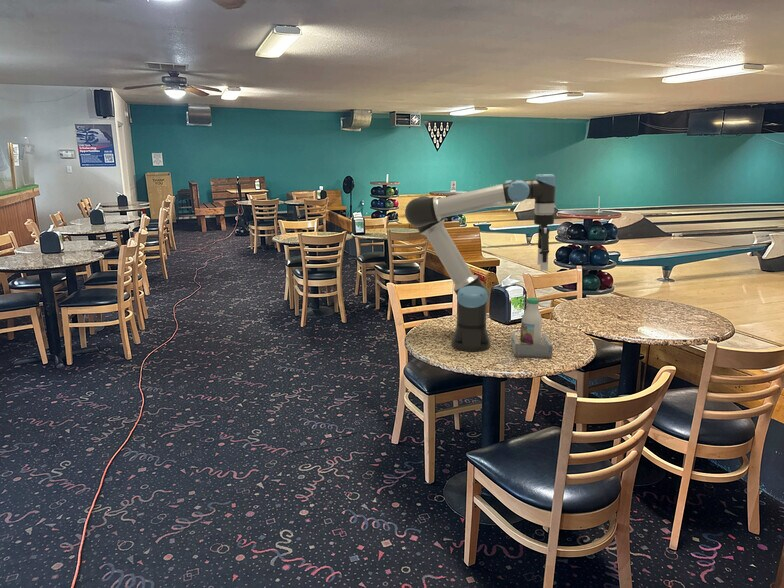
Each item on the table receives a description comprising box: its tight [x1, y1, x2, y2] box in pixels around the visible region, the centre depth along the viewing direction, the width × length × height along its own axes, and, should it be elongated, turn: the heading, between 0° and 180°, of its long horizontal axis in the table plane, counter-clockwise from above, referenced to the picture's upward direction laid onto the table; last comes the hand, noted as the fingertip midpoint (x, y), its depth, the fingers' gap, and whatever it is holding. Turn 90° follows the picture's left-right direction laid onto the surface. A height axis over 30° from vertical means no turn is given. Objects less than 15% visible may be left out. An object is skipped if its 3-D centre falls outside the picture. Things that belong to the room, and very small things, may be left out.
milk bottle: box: [519, 297, 543, 344], centre depth 204 cm, size 8×8×20 cm
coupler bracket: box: [510, 331, 554, 359], centre depth 204 cm, size 13×16×5 cm
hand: (542, 267), depth 211 cm, fingers open, 13 cm apart
